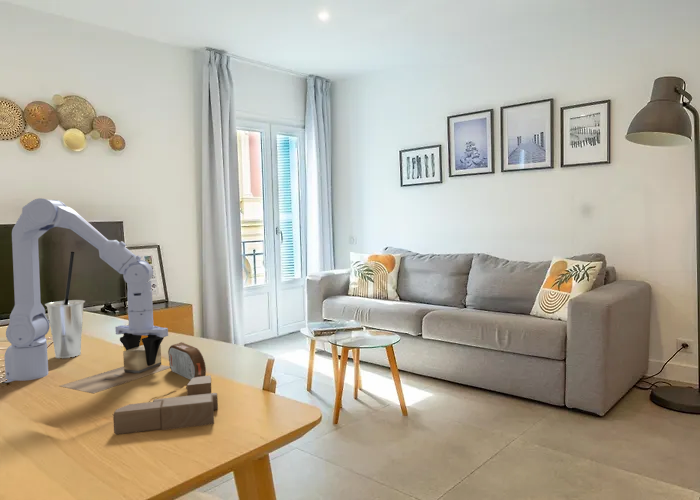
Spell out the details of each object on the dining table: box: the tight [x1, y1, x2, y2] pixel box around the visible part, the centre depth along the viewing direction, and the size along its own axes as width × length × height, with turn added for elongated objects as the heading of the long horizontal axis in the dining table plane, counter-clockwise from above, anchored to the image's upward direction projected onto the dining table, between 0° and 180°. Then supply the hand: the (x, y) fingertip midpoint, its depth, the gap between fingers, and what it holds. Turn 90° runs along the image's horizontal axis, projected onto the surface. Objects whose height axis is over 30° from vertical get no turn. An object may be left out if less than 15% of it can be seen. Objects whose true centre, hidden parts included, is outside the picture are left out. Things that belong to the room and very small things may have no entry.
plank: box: [59, 364, 170, 394], centre depth 125 cm, size 12×22×1 cm, turn 152°
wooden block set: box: [112, 374, 219, 435], centre depth 103 cm, size 17×6×18 cm
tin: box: [167, 341, 207, 381], centre depth 124 cm, size 15×3×8 cm, turn 42°
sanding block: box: [122, 344, 162, 373], centre depth 131 cm, size 4×8×5 cm, turn 160°
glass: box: [44, 251, 86, 359], centre depth 149 cm, size 11×11×30 cm
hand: (142, 363), depth 131 cm, fingers closed on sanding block, 4 cm apart
